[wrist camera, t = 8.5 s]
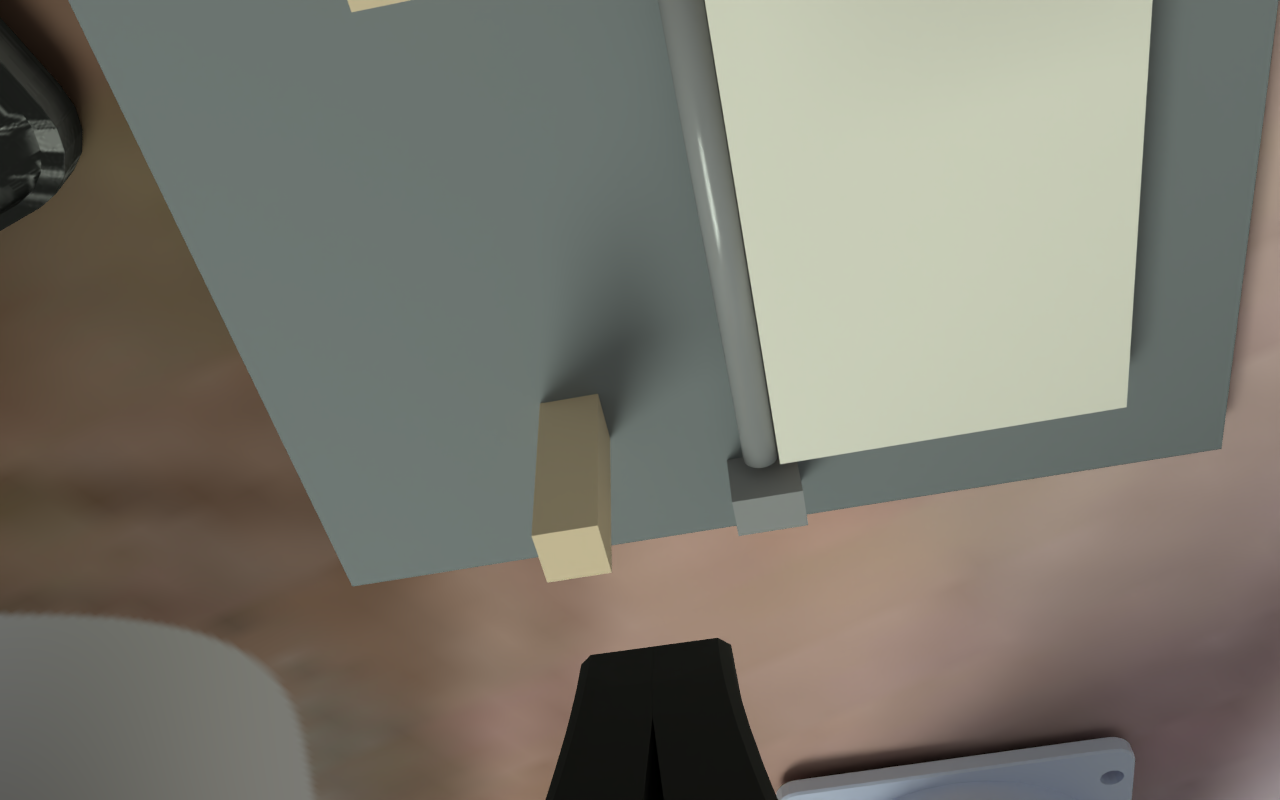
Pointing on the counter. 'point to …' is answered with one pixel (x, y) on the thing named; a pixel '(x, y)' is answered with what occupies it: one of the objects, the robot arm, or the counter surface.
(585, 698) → the robot arm
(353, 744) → the counter surface
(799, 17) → the tile
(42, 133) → the phone
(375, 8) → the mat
